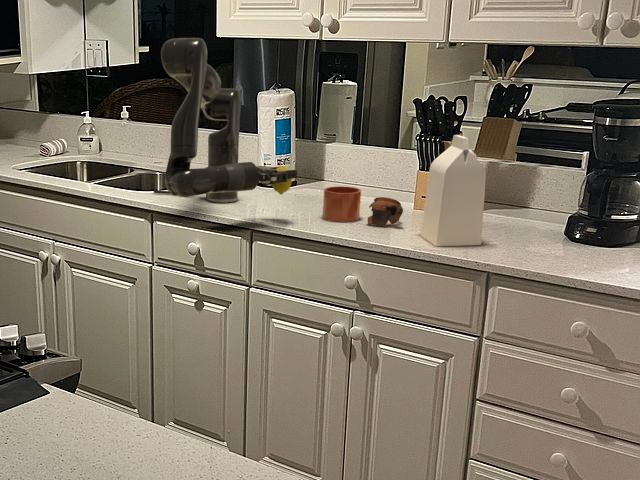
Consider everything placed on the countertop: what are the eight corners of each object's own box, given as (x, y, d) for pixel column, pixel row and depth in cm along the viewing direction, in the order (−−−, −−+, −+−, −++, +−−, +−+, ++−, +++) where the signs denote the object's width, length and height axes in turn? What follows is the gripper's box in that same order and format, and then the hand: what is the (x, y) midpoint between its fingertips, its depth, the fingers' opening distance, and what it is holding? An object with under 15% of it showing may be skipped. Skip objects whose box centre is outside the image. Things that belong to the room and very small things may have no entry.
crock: (314, 217, 265) (316, 189, 262) (340, 212, 271) (341, 185, 268) (341, 223, 257) (343, 194, 255) (366, 218, 263) (368, 190, 260)
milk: (420, 234, 245) (429, 133, 235) (462, 233, 245) (474, 133, 236) (436, 246, 234) (446, 140, 224) (480, 245, 234) (493, 139, 225)
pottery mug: (357, 224, 258) (364, 196, 259) (381, 236, 263) (388, 208, 264) (387, 221, 248) (395, 192, 248) (412, 233, 252) (420, 205, 253)
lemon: (290, 197, 256) (291, 167, 253) (270, 196, 257) (271, 167, 254) (291, 193, 261) (293, 164, 258) (271, 192, 262) (273, 163, 259)
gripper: (251, 167, 243) (305, 162, 250) (224, 159, 255) (276, 154, 262) (250, 196, 246) (304, 190, 253) (223, 186, 258) (275, 181, 265)
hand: (289, 172), depth 258 cm, fingers closed on lemon, 5 cm apart
